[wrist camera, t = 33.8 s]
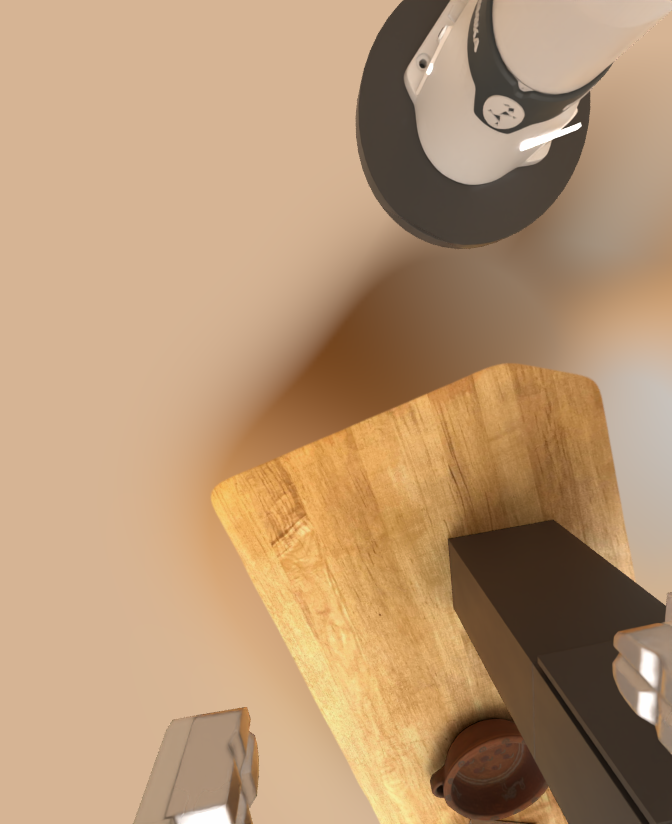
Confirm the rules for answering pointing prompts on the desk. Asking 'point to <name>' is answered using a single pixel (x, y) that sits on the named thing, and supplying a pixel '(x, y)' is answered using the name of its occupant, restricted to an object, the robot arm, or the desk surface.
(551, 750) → the cabinet
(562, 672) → the drawer
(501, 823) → the toy computer monitor
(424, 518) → the desk surface
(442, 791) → the dish
